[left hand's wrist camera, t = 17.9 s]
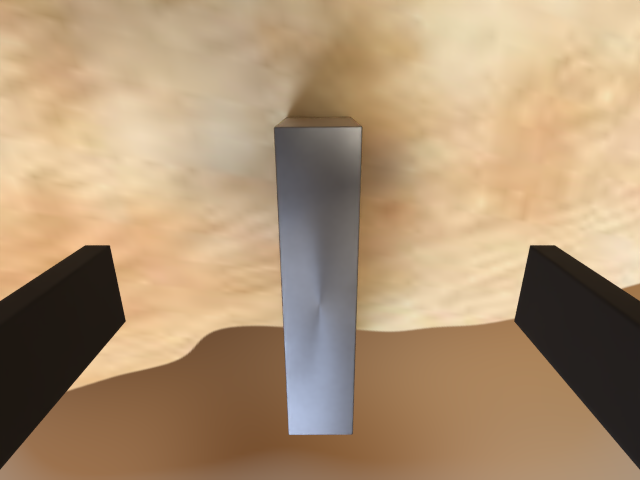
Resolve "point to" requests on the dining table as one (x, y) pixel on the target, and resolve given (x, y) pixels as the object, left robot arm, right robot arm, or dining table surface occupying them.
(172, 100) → the dining table surface
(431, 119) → the dining table surface
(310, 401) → the bar
